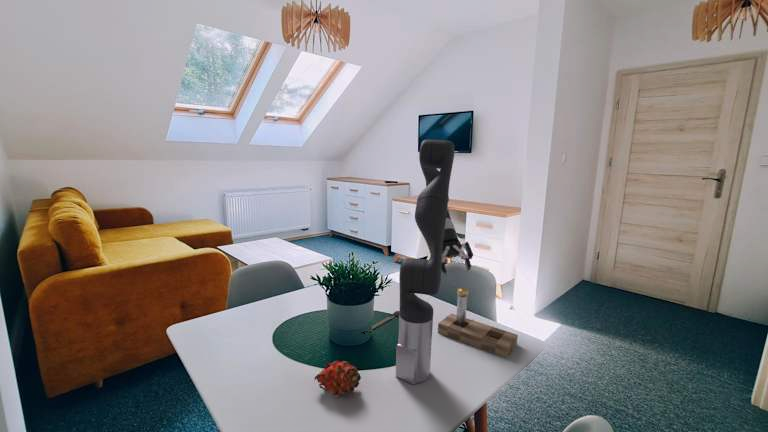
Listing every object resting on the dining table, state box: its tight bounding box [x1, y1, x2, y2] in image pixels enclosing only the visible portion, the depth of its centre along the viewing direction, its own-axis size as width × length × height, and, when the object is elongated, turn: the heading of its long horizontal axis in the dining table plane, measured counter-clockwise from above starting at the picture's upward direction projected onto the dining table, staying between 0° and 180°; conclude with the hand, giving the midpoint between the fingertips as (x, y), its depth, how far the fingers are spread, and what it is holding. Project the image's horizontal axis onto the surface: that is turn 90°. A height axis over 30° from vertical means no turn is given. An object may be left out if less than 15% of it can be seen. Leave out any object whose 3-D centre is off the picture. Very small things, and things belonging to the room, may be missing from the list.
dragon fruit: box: [314, 360, 362, 397], centre depth 90 cm, size 8×8×12 cm
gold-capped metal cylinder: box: [455, 286, 469, 328], centre depth 121 cm, size 4×4×16 cm
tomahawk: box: [370, 310, 400, 335], centre depth 127 cm, size 21×7×1 cm, turn 140°
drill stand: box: [437, 313, 519, 359], centre depth 119 cm, size 10×24×4 cm, turn 53°
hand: (457, 271), depth 125 cm, fingers open, 8 cm apart
